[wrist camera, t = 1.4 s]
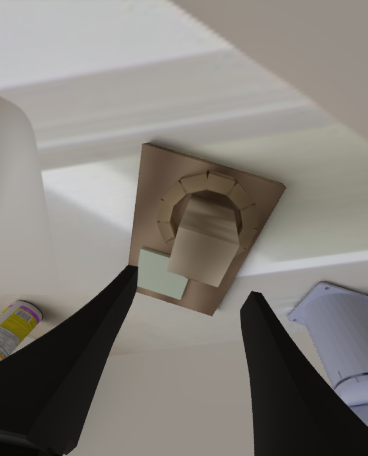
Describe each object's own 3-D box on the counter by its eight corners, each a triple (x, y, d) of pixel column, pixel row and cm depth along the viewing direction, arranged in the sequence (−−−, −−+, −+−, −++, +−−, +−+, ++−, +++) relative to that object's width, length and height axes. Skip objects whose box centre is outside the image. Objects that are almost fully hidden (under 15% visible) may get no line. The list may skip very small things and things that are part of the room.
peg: (233, 206, 18) (239, 245, 12) (218, 241, 21) (217, 288, 15) (191, 194, 18) (178, 226, 12) (181, 229, 21) (166, 271, 15)
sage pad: (193, 263, 23) (193, 265, 22) (181, 297, 26) (180, 300, 26) (141, 246, 23) (140, 248, 23) (136, 282, 27) (134, 285, 26)
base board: (282, 183, 18) (291, 192, 15) (212, 309, 28) (211, 325, 26) (146, 142, 18) (136, 145, 16) (128, 282, 29) (120, 296, 26)
